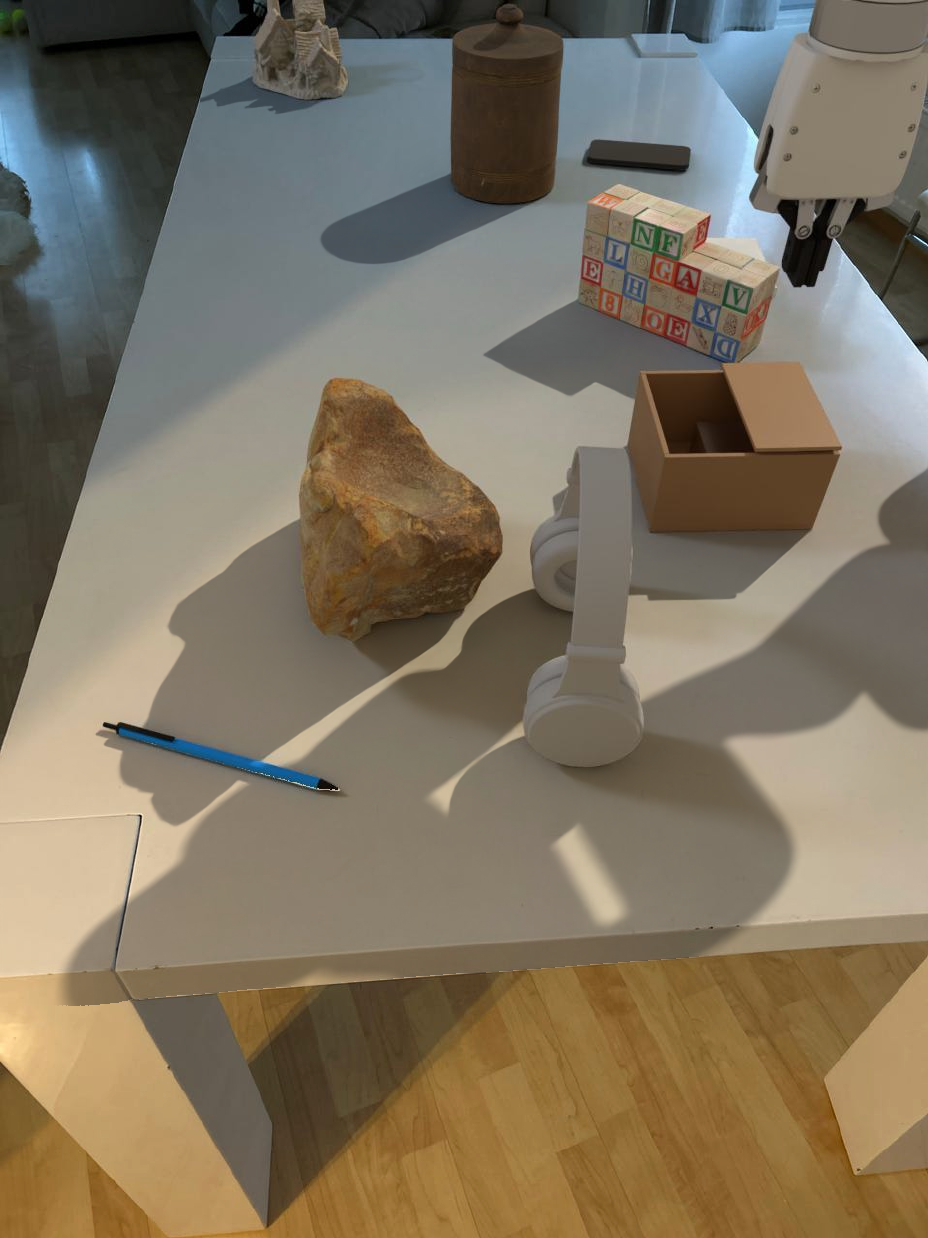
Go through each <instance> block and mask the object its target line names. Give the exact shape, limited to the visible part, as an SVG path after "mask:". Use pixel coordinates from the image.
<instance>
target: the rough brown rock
mask: <svg viewBox="0 0 928 1238" xmlns="http://www.w3.org/2000/svg"><path fill="white" fill-rule="evenodd" d="M318 406H319V407H318V410H317V413H316V417H315V421H314V423H313V426H312V429H311V432H310V436H309V440H308V445H307V452H306V453H307V455H306V465H305V470H304V472H303V474H302V475H301V480H300V486H299V493H298V504H299V523H300V524H299V525H300V526H299V529H300V535H299V537H300V564H301V566H300V581H301V582H300V583H301V588H302V589H303V592H304V593H303V594H304V600H305V604H306V607H307V612H308V616H309V620H310V621H311V622H312V623H313V624H314V626H315V627H316V628H317V629H318V630H319V631H320V632H321V633H322V634H323V635H329V636H331V635H332V636H335V635H336V636H337V635H338V636H339V637H341V638H344V639H346V640H349V641H351V642H352V643H353V642H354V641H356V640H358V639H360V638H362V637H363V636H365V635H367V634H371V631H372V626H373V625H374V624H376V623H377V622H379V623H381V622H387V621H390V620H403V619H404V620H405V619H415V618H418V617H420V616H423V615H424V614H426V613H449V612H455V611H459V610H460V611H461V610H464V609H465V607H467V606H468V605H469V603H471V602H472V601H473V600H474V598H475V596H476V594H477V593H478V590H479V588H480V587H481V586H480V585H481V583H482V581H484V580H485V578H486V577H487V576H488V574H489V573H490V572H491V570H492V569H493V568H494V566H495V564H496V563H497V562H498V561H499V559H500V557H501V556H502V554H503V542H504V540H503V539H504V538H503V537H504V536H503V532H502V529H501V525H500V522H501V516H500V514H499V512H498V510H497V507H496V505H495V504H494V503H493V502H492V501H491V500H490V498H489V496H487V494H485V492H484V491H483V490H482V489H481V488H480V486H478V485H477V484H475V483H474V482H472V480H471V479H470V478H469V477H468V476H466V475H465V474H464V473H463V472H461V471H459V470H457V469H455V468H454V467H452V466H451V465H449V464H447V463H446V461H444V460H443V459H442V458H440V456H439V455H438V454H437V453H436V452H435V451H434V450H433V448H432V447H431V446H430V445H429V444H428V442H427V440H426V438H425V436H424V435H423V433H422V431H421V429H420V428H419V427H417V425H415V424H414V423H413V422H412V421H411V420H410V418H409V417H408V415H407V414H406V413H405V411H404V410H403V409H402V407H401V406H399V405H398V403H397V402H396V401H395V399H394V397H393V395H391V394H389V393H388V392H387V391H385V390H384V389H382V388H379V387H378V386H376V385H373V384H370V383H368V382H365V381H363V380H362V379H358V378H348V377H347V378H346V377H333V378H330V379H329V380H328V382H327V383H325V385H324V387H323V389H322V393H321V397H320V402H319V405H318Z"/></svg>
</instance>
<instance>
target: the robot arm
mask: <svg viewBox="0 0 928 1238" xmlns="http://www.w3.org/2000/svg"><path fill="white" fill-rule="evenodd" d="M927 39H928V0H815V1H814V6H813V9H812V15H811V19H810V23H809V27H808V31H807V32H799V33H797V34H795V35H794V37H793V39H792V41H791V43H790V45H789V48H788V50H787V53H786V55H785V58H784V60H783V63H782V66H781V68H780V71H779V73H778V77H777V79H776V81H775V84H774V88H773V91H772V93H771V96H770V100H769V103H768V106H767V109H766V112H765V115H764V119H763V123H762V125H761V129H760V134H759V137H758V141H757V144H756V149H755V153H754V159H753V170H754V173H756V174H757V177H756V180H755V182H754V184H753V186H752V188H751V190H750V193H749V194H748V201H749V202H750V204H751V206H752V207H753V209H754V210H756V211H761V212H764V213H770V214H777V215H780V216H781V218H782V219H783V220H784V222H785V223H786V224H787V226H788V227H789V230H788V234H787V238H786V241H785V245H784V250H783V254H782V257H781V269H782V271H783V273H785V274H786V276H787V278H788V280H789V282H790V284H791V286H792V287H793V288H802V287H803V286H805V287H806V288H815V287H816V285H817V280H818V278H819V273H820V272H823V271H824V270H825V268H826V265H827V261H828V258H829V255H830V251H831V247H832V244H833V240H834V239H837V238H838V237H840V236H841V235H842V233H843V231H844V229H845V227H846V226H847V225H849V224H850V223H851V222H852V221H854V220H855V219H856V218H858V217H859V216H860V215H862V214H863V213H864V212H870V211H875V210H878V209H883V208H886V207H889V206H891V205H892V204H893V202H894V200H895V195H896V190H897V189H898V187H899V185H900V184H901V182H902V180H903V178H904V175H905V173H906V170H907V168H908V165H909V161H910V158H911V155H912V151H913V148H914V145H915V141H916V138H917V134H918V130H919V126H920V122H921V117H922V113H923V109H924V104H925V98H926V95H927V94H926V92H927V88H928V40H927ZM817 200H822V202H821V203H820V206H819V208H818V210H817V213H816V217H815V211H816V210H815V209H816V203H817V202H816V201H817Z"/></svg>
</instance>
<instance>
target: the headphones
mask: <svg viewBox="0 0 928 1238" xmlns="http://www.w3.org/2000/svg"><path fill="white" fill-rule="evenodd" d="M566 484H567V488H566V492H565V495H564V497H563V501H562V504H561V507H560V509H559V510H558V511H557V512H556V513H555V514H553V515H552V516H550V517H548V518H547V519H545V520H544V521H542V523H540V525H539V526H538V527H537V529H535V532H534V533H533V536H532V539H531V541H530V547H529V560H530V564H531V579H532V583H533V587H534V588H535V591H536V592H537V595H539V596H540V598H541V599H542V600H544V601H545V602H546V603H547V604H549V605H551V606H553V607H554V608H556V609H558V610H559V609H560V610H562V611H566V612H572V624H571V625H572V626H571V634H570V635H571V636H570V641H568V642H567V644H566V649H565V655H560V656H557V657H555V658H552V659H550V660H548V661H546V662H544V663H543V664H542V665H541V666H539V667H538V668H537V669H536V670H535V671H534V673H533V674H532V675H531V678H530V680H529V682H528V686H527V691H526V703H525V707H524V712H523V716H522V719H523V721H522V722H523V733H524V737H525V739H526V741H527V742H528V744H529V745H530V747H531V748H532V749H533V750H534V751H536V752H537V753H538V754H540V755H541V756H542V757H543V758H545V759H547V760H549V761H552V762H554V763H557V764H559V765H564V766H567V767H568V766H569V767H575V766H577V767H576V768H591V767H599V766H605V765H609V764H612V763H615V762H617V761H620V760H621V759H623V758H624V757H626V756H627V755H628V754H630V753H631V752H633V751H634V749H636V748H637V747H638V746H639V744H640V742H641V740H642V739H643V735H644V726H645V717H644V716H645V715H644V711H643V706H642V704H641V702H640V698H641V696H640V689H639V685H638V682H637V679H636V677H635V675H634V674H633V672H632V671H631V670H630V669H629V668H628V667H627V666H626V665H624V664H625V662H626V657H627V651H626V646H625V645H624V640H625V633H626V632H625V630H626V624H627V623H626V622H627V613H628V603H629V589H630V583H631V580H632V562H633V555H634V549H633V542H632V540H633V539H632V538H633V489H632V488H633V487H632V484H633V483H632V473H631V464H630V458H629V455H628V452H627V450H626V449H625V448H621V447H605V446H587V445H578V446H577V447H576V448H575V451H574V454H573V457H572V461H571V467H568V468H567V471H566Z"/></svg>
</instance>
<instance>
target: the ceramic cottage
mask: <svg viewBox="0 0 928 1238" xmlns="http://www.w3.org/2000/svg"><path fill="white" fill-rule="evenodd" d="M291 3H292V13H293V16H294V18H287V19H285V18H284V17H282V15H281V9H280V2H279V0H266V7H267V8H266V9H267V12H266V14H265V17H264V20H263V23H262V25H261V26H260V27H259V30H258V32H257V33H256V34H255V36H254V38H252V39H251V42H253V46H254V50H253V53H254V59H255V62H254V63H253V67H252V83H253V84H254V85H256V87H258V88H259V89H263V90H268V91H271V92H273V93H278V94H282V95H287V96H288V97H292V98H294V99H300V100H305V101H308V100H309V101H311V100H318V99H319V100H320V99H321V98H322V99H323V98H324V99H325V98H326V99H329V98H331V99H334V98H336V99H337V98H338V97H341V96H343V95H344V94H345V92H346V89H347V87H348V85H349V78H348V72H347V69H346V68H345V66H344V65H343V64H342V63H341V61H342V60H343V55H342V48H341V44H340V40H339V39H340V37H339V33H338V29H337V27H333V28H332V27H331V28H329V25H326V24H325V22H326V9H325V5H324V0H292V1H291Z"/></svg>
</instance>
